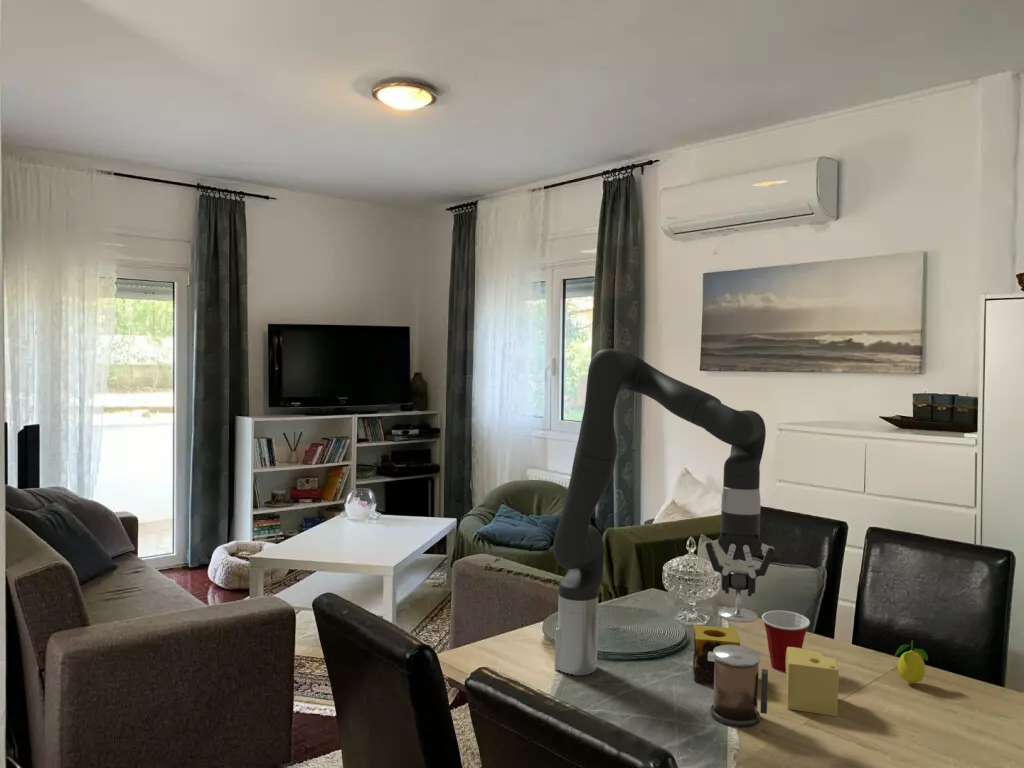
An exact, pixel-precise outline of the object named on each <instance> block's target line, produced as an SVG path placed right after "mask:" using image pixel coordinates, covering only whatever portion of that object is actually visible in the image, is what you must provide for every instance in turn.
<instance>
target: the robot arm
mask: <svg viewBox="0 0 1024 768" xmlns="http://www.w3.org/2000/svg"><path fill="white" fill-rule="evenodd" d="M586 378H587V380H586V390H585V391H586V392H585V399H584V401H585V402H584V407H583V408H584V409H583V413H582V419H581V424H580V430H579V435H578V440H577V444H576V448H575V452H574V456H573V462H572V469H571V474H570V479H569V482H568V483H569V484H568V488H567V492H566V497H565V502H564V505H563V509H562V512H561V516H560V519H559V521H558V526H557V528H556V532H555V535H554V538H553V544H552V551H553V556H554V559H555V561H556V562H557V564H558V566H560V567H561V568H563V569H566V570H567V572H566V574H565V575H564V576H563V578H561V580H560V582H558V583H559V584H558V600H557V601H558V603H557V606H558V607H557V609H558V610H557V614H558V615H557V626H556V628H555V630H554V633H555V635H554V637H555V638H554V670H555V671H559V670H560V671H559V672H561V671H562V673H563V672H565V673H564V674H566V673H569V674H568V675H570V674H573V675H572V676H588V675H591V674H590V673H592V672H594V671H595V670H596V671H597V669H598V666H597V665H598V630H599V629H598V627H599V625H598V624H599V622H598V621H599V619H598V618H599V617H598V616H599V590H600V587H601V585H602V582H603V573H604V561H605V560H604V559H605V545H604V539H603V537H602V534H601V532H600V530H598V528H596V527H595V526H593V525H591V524H590V523H591V519H592V516H593V514H594V513H593V512H594V511H595V509H596V507H597V505H598V504H599V502H600V500H601V498H602V497H603V495H604V493H605V492H606V490H607V488H608V486H609V484H610V482H611V481H612V480H611V479H612V476H613V473H614V468H615V465H616V461H617V459H616V458H617V453H618V441H617V435H616V429H615V424H614V416H615V415H614V413H615V412H614V411H615V407H616V402H617V400H618V399H617V398H618V394H619V393H620V392H619V391H623V390H626V391H630V392H634V393H637V394H641V395H644V396H647V397H649V398H650V399H652V400H654V401H656V402H657V403H658V404H659V405H661V406H662V407H663V408H665V409H666V410H667V411H668V412H670V413H671V414H673V415H675V416H677V417H678V418H681V419H682V420H684V421H685V422H686V421H687V422H689V423H690V424H693V425H695V426H698V427H700V428H702V429H704V430H705V431H706V432H707V433H709V434H711V435H712V436H713V437H715V438H716V439H717V440H719V441H721V442H723V443H725V444H728V445H729V446H730V445H731V449H730V454H729V456H728V457H727V459H726V460H725V462H724V464H723V488H722V493H721V504H720V505H721V512H720V513H721V519H720V520H721V521H720V535H719V536H718V538H717V539H714V540H707V541H706V543H705V549H706V552H707V555H708V557H709V561H710V563H711V567H712V570H713V572H716V573H720V574H721V590H722V591H724V594H727V595H729V594H730V587H729V571H730V568H731V565H732V562H733V561H738V560H740V561H742V562H746V563H745V564H746V566H747V570H748V571H747V572H748V573H749V577H748V589H747V597H752V596H753V594H755V593H756V584H757V583H756V581H757V580H756V579H757V577H765V576H766V573H767V571H768V568H769V566H770V564H771V561H772V559H773V557H774V554H775V547H774V546H773V545H767V544H765V543H763V542H762V539H761V537H760V533H761V508H762V505H761V493H760V484H761V483H760V481H761V480H760V479H761V470H760V469H761V468H760V467H761V461H762V458H763V452H764V448H765V443H766V435H767V433H766V424H765V421H764V419H763V417H762V416H761V415H760V414H759V413H758V412H756V411H754V410H750V409H747V410H746V409H745V410H737V409H734V408H732V407H730V406H728V405H726V404H724V403H722V401H721V400H720V399H719V398H717V396H714V395H712V394H710V393H708V392H705V391H703V390H701V389H698V388H697V387H694V386H692V385H690V384H687V383H685V382H683V381H680V380H678V379H675V378H674V377H671V376H670V375H668V374H665V373H664V372H661V371H660V370H658V368H655V367H654V366H652V365H651V364H649V363H648V362H646V361H645V360H643V359H642V358H640V357H639V356H637V355H636V354H635V353H634V352H633V353H632V352H631V351H629V350H627V349H621V348H602V349H601V350H598V351H597V352H596V353H595V354H594V355H593V357H592V359H591V361H590V363H589V366H588V370H587V377H586ZM718 546H720V548H721V549H722V551H723V552H724V554H725V555H726V556H725V560H724V562H723V563H724V564H723V565H721V564H720V563H719V562H720V561H719V559H718V556H717V553H716V552H717V551H718ZM760 549H761V550H762V552H761V554H762V555H763V559H762V561H761V564H760V566H759V568H756V566H755V562H754V557H755V555H756V554H757V553H758V551H760ZM596 668H597V669H596ZM596 671H595V672H596ZM595 672H594V673H595ZM587 674H588V675H587ZM592 674H593V673H592Z"/></svg>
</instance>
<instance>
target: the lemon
mask: <svg viewBox="0 0 1024 768" xmlns="http://www.w3.org/2000/svg"><path fill="white" fill-rule="evenodd" d="M913 644H914V641H913V640H912V639H911V644H910V645H909V644H902V645H900V646H899V647H898V649H896V651H895V653H894V657H896V656H898V655H899V654H900V653H901V652H903V651H904V650H906V649H907V648H909V647H910V646H911V647H910V650H909V651H905V652H903V653H902V654H901V655H900V657H899V659H898V662H897V672H898V674H899V676H900V678H902V679H903V680H904V681H906V682H907V683H909V684H910V685H914V684H915V683H918V682H921V681H922V680H923V679H924V677H925V675H926V665H925V664H926V663H925V661H926V662H927V661H929V657H928V654H927V652H926V651H925V650H924V649H922V648H915V647H914V645H913ZM913 649H914V650H913Z"/></svg>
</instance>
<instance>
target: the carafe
mask: <svg viewBox="0 0 1024 768" xmlns="http://www.w3.org/2000/svg"><path fill="white" fill-rule="evenodd" d="M761 657H762V655H761V654H760V652H759V651H757V650H755V649H753V648H752V647H747V646H743V645H740V646H739V645H721V646H717V647H715V648H714V650H713V652H708V661H713V662H715V664H714V684H713V703H712V705H711V707H710V716H711V718H713V720H715V721H716V722H718V723H720V724H721V725H722V724H723V725H726V726H730V727H733V728H734V727H735V728H751V727H754V726H757V725H759V723H760V720H761V714H765V715H767V714H768V711H767V710H768V690H769V689H768V687H769V686H768V684H769V683H768V682H769V680H768V679H769V669H766V668H765V669H764V668H761V676H760V677H761V680H760V681H761V683H760V712H759V710H758V707H759V705H758V704H759V702H758V701H759V700H758V699H759V672H760V671H759V670H760V667H759V665H760V663H761Z"/></svg>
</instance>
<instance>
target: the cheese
mask: <svg viewBox="0 0 1024 768" xmlns="http://www.w3.org/2000/svg"><path fill="white" fill-rule="evenodd" d="M785 675H786V684H787V688H786V689H787V690H786V691H787V692H786V702H787V704H786V705H787V707H786V709H788V710H792V711H798V712H800V711H801V712H805V713H813V714H820V715H826V716H833V717H838V710H839V709H838V706H839V676H840V674H839V666H838V662H837V659H836V658H835V657H834V658H832V657H829V656H826V655H825V654H824V653H823V652H820V651H817V650H816V651H815V650H812V649H811V650H810V649H805V648H803V647H802V648H796V647H787V651H786V672H785Z"/></svg>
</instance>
